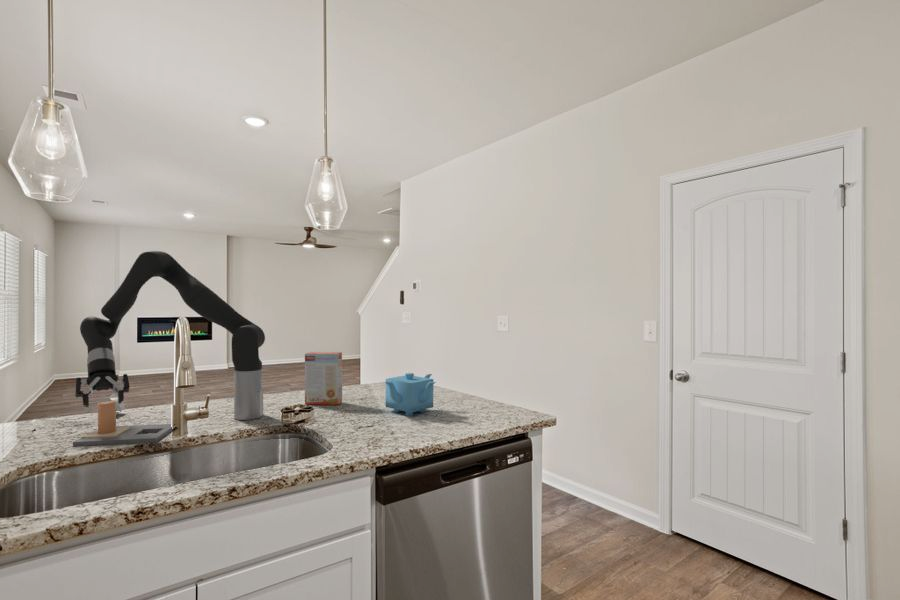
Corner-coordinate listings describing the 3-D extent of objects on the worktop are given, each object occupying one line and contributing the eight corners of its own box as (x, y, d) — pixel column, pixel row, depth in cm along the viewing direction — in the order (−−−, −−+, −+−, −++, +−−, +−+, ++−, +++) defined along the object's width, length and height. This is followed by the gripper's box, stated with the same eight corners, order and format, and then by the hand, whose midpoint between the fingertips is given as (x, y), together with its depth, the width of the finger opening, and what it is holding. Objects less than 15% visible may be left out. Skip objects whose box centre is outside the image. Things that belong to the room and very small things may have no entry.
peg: (118, 429, 147) (118, 400, 147) (111, 433, 142) (111, 404, 142) (102, 430, 146) (102, 401, 146) (94, 434, 141) (94, 404, 141)
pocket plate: (177, 427, 155) (177, 422, 155) (155, 442, 139) (155, 436, 139) (103, 430, 151) (103, 425, 151) (72, 446, 135) (72, 440, 135)
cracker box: (342, 402, 193) (342, 351, 193) (337, 405, 187) (337, 353, 187) (310, 401, 194) (310, 351, 194) (304, 404, 188) (304, 353, 188)
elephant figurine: (121, 416, 168) (121, 396, 168) (91, 417, 166) (91, 397, 166) (131, 411, 176) (131, 392, 176) (102, 412, 174) (102, 393, 174)
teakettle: (386, 406, 186) (386, 369, 186) (433, 405, 188) (433, 369, 188) (384, 419, 167) (384, 378, 167) (436, 417, 169) (436, 377, 169)
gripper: (74, 359, 152) (76, 400, 144) (127, 355, 162) (131, 394, 153) (74, 373, 156) (75, 413, 148) (125, 369, 166) (129, 407, 157)
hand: (104, 403), depth 150 cm, fingers open, 8 cm apart
